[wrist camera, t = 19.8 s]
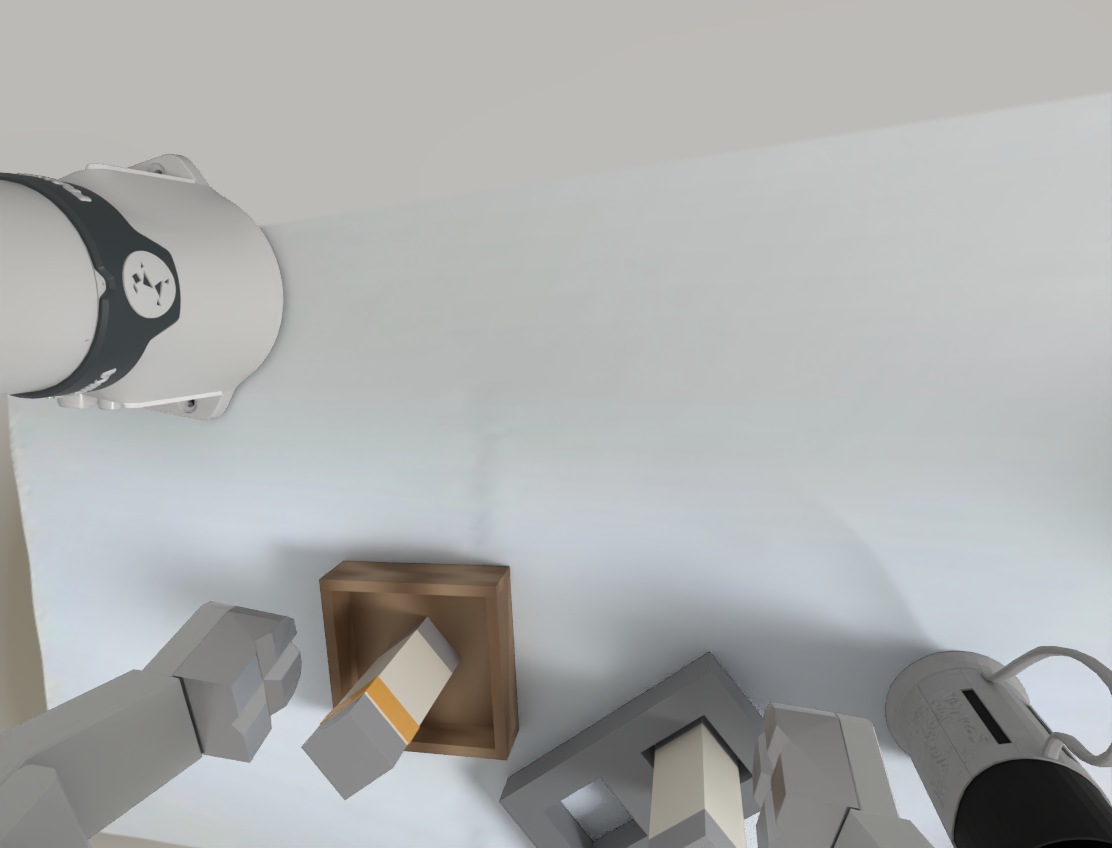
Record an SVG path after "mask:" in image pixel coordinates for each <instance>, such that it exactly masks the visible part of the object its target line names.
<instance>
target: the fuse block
mask: <svg viewBox="0 0 1112 848" xmlns="http://www.w3.org/2000/svg"><path fill="white" fill-rule="evenodd" d="M703 715H705V716H706V718H707V719H708V720H709V721H710V723H711V724H712V725H713V726H714V728H715V729H716V730H717V731H718V733H719V734H720V735H721V736H722V738H723V739H724V740H725V741H726V743H727V744H728V745H729V746H730V747H731V749H732V750H733V751H734V752H735V754H736V755H737V756H738V757H739V759H738V760H737V761H738V770H739V780H740V789H741V798H742V808H743V817H744V819H746V818H748V817H750V816H752V815H754V814H756V813H757V812H759V811H761V808H760V806H759V805H758V803H757V802H756V801H755V799H754V798H753V784H752V766H753V757H754V750H755V746H756V742H757V738H758V736H759V735H761V734H762V733H764V732H765V727H764V719H763V718H762V716H761V715H760V714H759V713H758V711H757V710H756V709H755V708H754V706H753V705H752V704H751V703H750V701H749V700H748V699H747V698H746V696H745V695H744V694H743V693H742V691H741V690H740V689H739V688H738V686H737V685H736V684H735V683H734V681H733V680H732V679H731V678H730V676H729V675H728V674H727V673H726V671H725V670H724V669H723V668H722V666H721V665H720V664H719V663H718V661H717V660H716V659H715V658H714V656H713V655H712V654H711V653H710V652H709V653H707V654H705V655H704V656H702V657H701V658H699V659H697V660H696V661H694V662H693V663H691V664H689V665H688V666H686V667H685V668H683V669H681V670H680V671H678V672H677V673H675V674H673V675H672V676H670V677H669V678H667V679H665V680H664V681H662V682H661V683H659V684H658V685H656V686H654V687H653V688H651V689H650V690H648V691H646V692H645V693H643V694H642V695H640V696H638V697H637V698H635V699H634V700H632V701H630V702H629V703H627V704H626V705H624V706H622V707H621V708H619V709H618V710H616V711H614V712H613V713H611V714H610V715H608V716H606V717H605V718H603V719H602V720H600V721H598V722H597V723H595V724H594V725H592V726H591V727H589V728H587V729H586V730H584V731H583V732H581V733H579V734H578V735H576V736H575V737H573V738H571V739H570V740H568V741H567V742H565V743H563V744H562V745H560V746H559V747H557V748H555V749H554V750H552V751H551V752H549V753H547V754H546V755H544V756H543V757H541V758H539V759H538V760H536V761H535V762H533V763H531V764H530V765H528V766H527V767H525V768H524V769H522V770H520V771H519V772H517V773H516V774H514V775H512V776H511V777H509V778H508V779H507V782H506V785H505V787H504V790H503V793H502V795H501V798H500V801H499V802H500V803H501V805H502V806H503V807H504V808H505V810H506V811H507V812H508V813H509V814H510V816H511V817H512V818H513V819H514V821H515V822H516V823H517V824H518V825H519V827H520V828H521V829H522V830H523V832H524V833H525V834H526V835H527V836H528V838H529V839H530V840H531V841H532V843H533V844H534V845H535V846H536V848H648V843H649V829H650V815H651V801H652V787H653V773H654V759H655V745H654V744H656V743H658V742H659V741H661V740H663V739H664V738H666V737H668V736H669V735H671V734H673V733H674V732H676V731H678V730H679V729H681V728H683V727H684V726H686V725H688V724H689V723H691V722H693V721H694V720H696V719H698V718H699V717H701V716H703ZM599 777H600V778H601V779H602V780H603V781H604V783H605V784H606V785H607V786H608V787H609V789H610V790H611V791H612V792H613V794H614V795H615V796H616V797H617V799H618V800H619V801H620V802H621V804H622V805H623V806H624V807H625V808H626V810H627V811H628V812H629V813H630V815H631V816H632V817H633V818H634V819H633V820H631V821H629V822H628V823H626V824H624V825H622V826H621V827H619V828H617V829H615V830H614V831H612V832H610V833H608V834H607V835H605V836H603V837H601V838H600V839H598V840H596V841H594V842H593V841H592V840H591V838H590V837H589V836H588V835H587V833H586V832H585V831H584V830H583V829H582V827H581V826H580V825H579V824H578V822H577V821H576V820H575V819H574V817H573V816H572V815H571V814H570V813H569V811H568V810H567V809H566V808H565V806H564V805H563V804H562V803H561V802H560V801H561V800H563V799H564V798H566V797H568V796H569V795H571V794H573V793H574V792H576V791H578V790H579V789H581V788H583V787H584V786H586V785H588V784H589V783H591V782H593V781H594V780H596V779H598V778H599Z"/></svg>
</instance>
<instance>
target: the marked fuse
mask: <svg viewBox="0 0 1112 848" xmlns="http://www.w3.org/2000/svg"><path fill="white" fill-rule="evenodd" d="M460 660H461V657H460V656H459V655H458V654H457V652H456V651H455V650H454V649H453V648H452V646H451V645H450V644H449V643H448V641H447V640H446V639H445V638H444V636H443V635H442V634H441V633H440V632H439V630H438V629H437V628H436V627H435V625H434V624H433V623H432V622H431V620H430V619H429V618H428V617H426V618H425V619H423V620H422V621H421V622H419V623H418V624H417V625H415V626H414V627H413V628H411V629H410V630H409V631H407V632H406V633H405V634H403V635H402V636H401V637H399V638H398V639H397V640H395V641H394V642H392V643H391V644H390V645H389V646H388V647H387V648H386V649H385V650H384V652H383V653H382V654H381V655H380V656H379V657H378V659H377V660H376V661H375V662H374V663H373V664H372V666H371V667H370V668H369V669H368V670H367V671H366V673H365V674H364V675H363V676H362V677H361V678H360V679H359V681H358V682H357V683H356V684H355V685H354V686H353V688H352V689H351V690H350V691H349V692H348V693H347V695H346V696H345V697H344V698H343V699H342V700H341V702H340V703H339V704H338V705H337V706H336V707H335V708H333V709H332V711H331V712H330V713H329V714H328V715H327V716H326V717H325V719H324V720H323V721H322V722H321V723H320V724H321V725H320V726H319V727H318V728H317V729H316V730H315V732H314V733H313V734H312V735H311V736H310V737H309V739H308V740H307V741H306V742H305V743H304V744H303V746H302V747H301V748H302V749H303V750H304V751H305V752H306V754H307V755H308V756H309V757H310V758H311V760H312V761H313V762H314V763H315V765H316V766H317V767H318V768H319V769H320V771H321V772H322V773H323V774H324V776H325V777H326V778H327V779H328V780H329V782H330V783H331V784H332V785H333V786H334V788H335V789H336V790H337V791H338V793H339V794H340V795H341V796H342V797H343V799H344V800H346V799H347V798H349V797H350V796H352V795H353V794H355V793H356V792H358V791H359V790H361V789H362V788H364V787H365V786H367V785H368V784H370V783H371V782H373V781H374V780H376V779H377V778H379V777H380V776H382V775H383V774H385V773H386V772H388V771H389V770H391V769H392V768H393V767H394V765H395V764H396V762H397V761H398V759H399V757H400V756H401V754H402V753H403V751H404V750H405V748H406V746H407V745H408V744H410V742H411V740H412V739H413V737H414V736H415V734H416V732H417V731H418V729H419V728H420V727H419V726H420V724H421V722H422V721H423V719H424V718H425V716H426V715H427V713H428V711H429V710H430V708H431V707H432V705H433V703H434V702H435V700H436V699H437V697H438V695H439V694H440V692H441V691H442V689H443V687H444V686H445V684H446V683H447V681H448V680H449V678H450V676H451V675H452V673H453V672H454V670H455V668H456V667H457V665H458V664H459V662H460Z"/></svg>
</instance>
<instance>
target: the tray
mask: <svg viewBox="0 0 1112 848" xmlns="http://www.w3.org/2000/svg"><path fill="white" fill-rule="evenodd" d="M319 582H320V591H321V601H322V610H323V619H324V628H325V637H326V646H327V655H328V664H329V674H330V683H331V692H332V701H333V708H335V707H336V706H337V705H338V704H339V703H340V702H341V700H342V699H343V698H344V697H345V696H346V695H347V693H348V692H349V691H350V690H351V689H352V688H353V686H354V685H355V684H356V683H357V682H358V681H359V679H360V678H361V677H362V676H363V675H364V674H365V673H366V671H367V670H368V669H369V668H370V667H371V666H372V664H373V663H374V662H375V661H376V660H377V659H378V657H379V656H380V655H381V654H382V653H383V652H384V650H385V649H386V648H387V647H388V646H389V645H390V644H391V643H392V642H394V641H395V640H397V639H398V638H399V637H401V636H402V635H403V634H405V633H406V632H407V631H409V630H410V629H411V628H413V627H414V626H415V625H417V624H418V623H419V622H421V621H422V620H423V619H425V618H426V617H428V618H429V619H430V620H431V622H432V623H433V624H434V625H435V627H436V628H437V629H438V630H439V632H440V633H441V634H442V635H443V636H444V638H445V639H446V640H447V641H448V643H449V644H450V645H451V646H452V648H453V649H454V650H455V651H456V652H457V654H458V655H459V656H460V657H461V660H460V662H459V664H458V665H457V667H456V668H455V670H454V672H453V673H452V675H451V676H450V678H449V680H448V681H447V683H446V684H445V686H444V687H443V689H442V691H441V692H440V694H439V695H438V697H437V699H436V700H435V702H434V703H433V705H432V707H431V708H430V710H429V711H428V713H427V715H426V716H425V718H424V719H423V721H422V722H421V724H420V726H419V727H420V728H419V729H418V731H417V732H416V734H415V736H414V737H413V739H412V740H411V742H410V744H408V745H407V746H406V748H405V750H404V751H410V752H421V753H432V754H443V755H455V756H466V757H477V758H488V759H499V760H507V759H508V756H509V753H510V751H511V748H512V746H513V743H514V741H515V738H516V736H517V733H518V731H519V724H518V707H517V689H516V672H515V655H514V637H513V620H512V603H511V585H510V568H509V566H479V565H449V564H419V563H389V562H359V561H343V562H341V563H340V564H339V565H338V566H336V567H335V568H334V569H332V570H331V571H330V572H328V573H327V574H326V575H324V576H323V577H322V578H320V579H319Z"/></svg>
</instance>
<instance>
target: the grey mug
mask: <svg viewBox="0 0 1112 848" xmlns="http://www.w3.org/2000/svg"><path fill="white" fill-rule="evenodd" d="M1060 655H1061V656H1069V657H1072V658H1074V659H1076V660H1078V661H1081V662H1082V663H1083V664H1085V665H1086V666H1087V667H1089V668H1090V669H1091V670H1093V671H1094V672H1095V673H1097V675H1098V676H1099V677H1100V678H1101V679H1102V681H1103V682H1104V683H1105V684H1106V685H1107V686H1108V688H1109V690H1110V693H1111V695H1112V671H1111V670H1110V669H1108V668H1107V667H1106V666H1104V665H1103V664H1102V663H1100V662H1099V661H1098V660H1096V659H1095V658H1093V657H1091V656H1089V655H1086V654H1084V653H1082V652H1079V651H1077V650H1073V649H1069V648H1062V647H1056V646H1041V647H1037V648H1035V649H1033V650H1031V651H1029V652H1027V653H1026V654H1024V655H1022V656H1020V657H1019V658H1017V659H1015V660H1014V661H1012V662H1011V663H1009V664H1008V665H1006V666H1003V665H1002V664H1000V663H999V662H997V661H995V660H993V659H991V658H989V657H986V656H983V655H980V654H976V653H971V652H964V651H948V652H941V653H936V654H933V655H929V656H926V657H924V658H922V659H920V660H918V661H916V662H914V663H912V664H911V665H910V666H908V667H907V668H905V669H904V670H903V671H902V672H901V673H900V674H899V676H898V677H897V678H896V679H895V681H894V682H893V684H892V685H891V688H890V690H889V692H888V695H887V699H886V705H885V716H886V721H887V725H888V728H889V730H890V732H891V735H892V737H893V738H894V740H895V741H896V742H897V744H898V745H899V747H900V748H901V749H902V750H903V751H904V752H905V753H906V754H907V755H909V756H910V758H911V760H912V762H913V764H914V766H915V768H916V770H917V772H918V774H919V776H920V779H921V781H922V783H923V785H924V787H925V789H926V791H927V793H928V795H929V797H930V799H931V801H932V803H933V805H934V807H935V809H936V812H937V814H938V816H939V818H940V820H941V822H942V824H943V826H944V828H945V830H946V832H947V834H948V836H949V838H950V840H951V843H952V845H953V847H954V848H1112V805H1111V803H1110V801H1109V799H1108V798H1107V797H1106V795H1105V794H1104V792H1103V791H1102V789H1101V788H1100V787H1099V786H1098V784H1097V783H1096V782H1095V781H1094V780H1093V779H1092V777H1091V776H1090V775H1089V774H1088V773H1087V771H1086V770H1085V769H1084V768H1083V767H1082V766H1081V764H1080V763H1079V762H1078V761H1077V760H1076V758H1075V757H1074V756H1073V755H1072V754H1071V752H1072V753H1073V754H1074V755H1076V756H1077V757H1078V758H1079V759H1081V760H1082V761H1084V762H1086V763H1089V764H1091V765H1094V766H1098V767H1112V743H1111V745H1110V746H1109V748H1108V749H1107V750H1106V752H1104V753H1102V754H1100V755H1099V756H1094V755H1093V754H1092V753H1090V752H1089V751H1088V750H1087V749H1086V748H1085V747H1084V746H1083V745H1082V744H1081V743H1080V742H1079V741H1078V740H1077V739H1075V738H1074V737H1073V736H1070V735H1068V734H1064V733H1060V732H1053V731H1052V730H1051V729H1050V728H1049V726H1048V725H1047V724H1046V723H1045V722H1044V720H1043V719H1042V718H1041V717H1040V716H1039V714H1038V713H1037V712H1036V711H1035V710H1034V709H1033V707H1032V706H1031V705H1030V701H1029V698H1028V695H1027V693H1026V691H1025V688H1024V687H1023V685H1022V684H1021V682H1020V681H1019V680H1018V678H1017V677H1016V676H1015V675H1017V674H1018V673H1020V672H1021V671H1023V670H1024V669H1026V668H1027V667H1028V666H1030V665H1032V664H1034V663H1036V662H1038V661H1040V660H1042V659H1044V658H1047V657H1050V656H1060ZM1064 744H1065V745H1066V747H1067V748H1068V749H1069V750H1070V751H1071V752H1070V751H1069V750H1068V749H1067V748H1066V747H1065V745H1064Z"/></svg>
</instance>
